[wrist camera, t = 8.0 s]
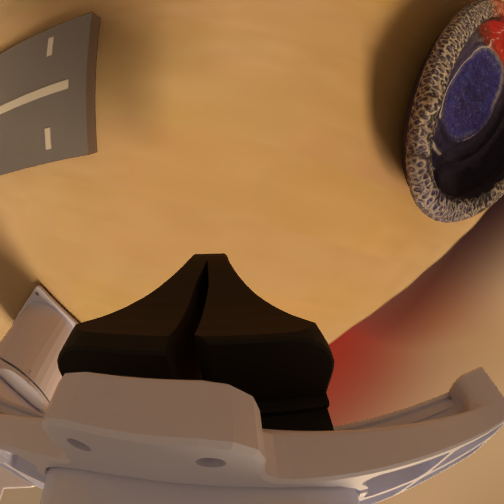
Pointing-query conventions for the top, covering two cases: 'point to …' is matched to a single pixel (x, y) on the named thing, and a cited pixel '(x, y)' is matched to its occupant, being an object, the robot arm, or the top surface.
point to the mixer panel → (49, 96)
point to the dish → (459, 117)
